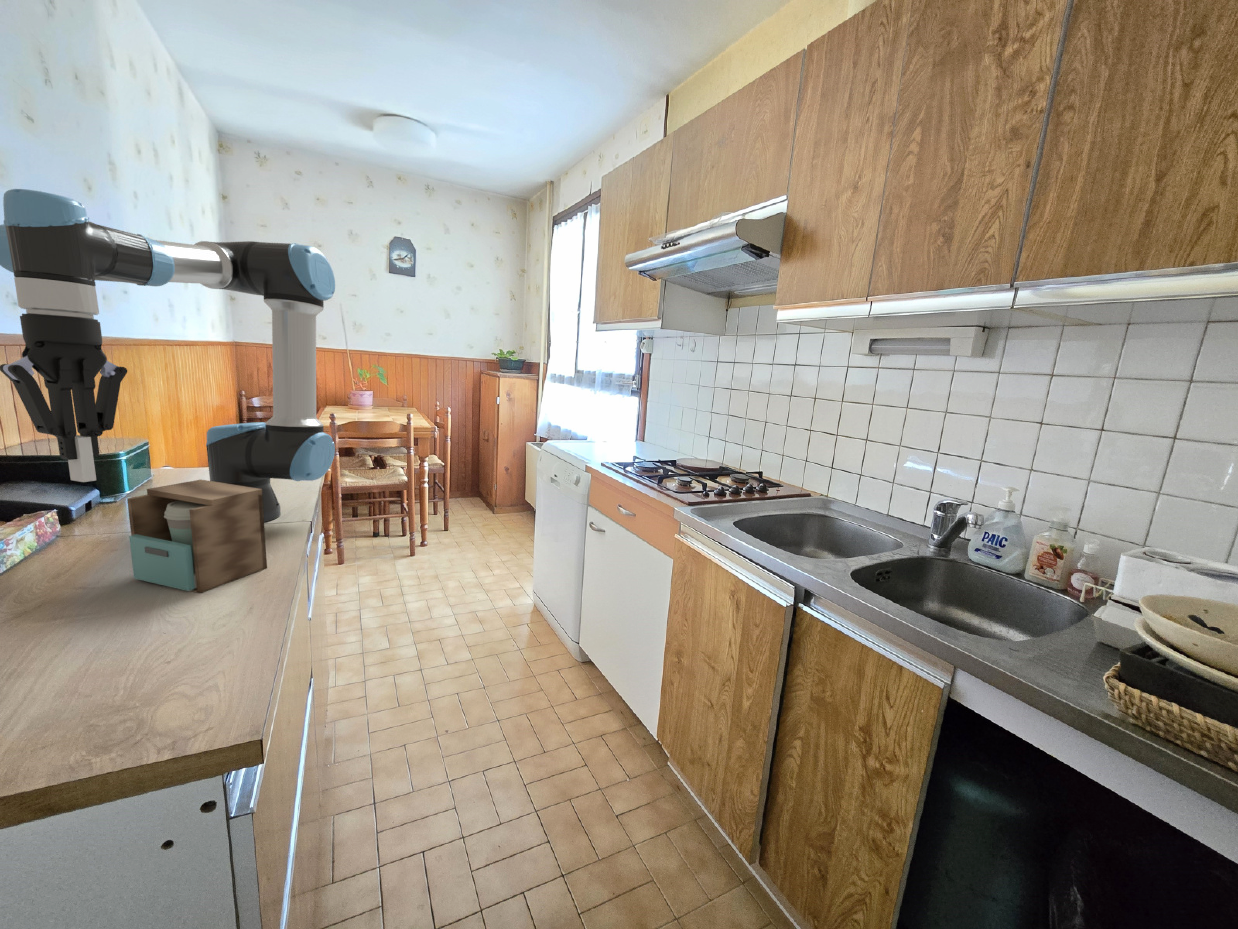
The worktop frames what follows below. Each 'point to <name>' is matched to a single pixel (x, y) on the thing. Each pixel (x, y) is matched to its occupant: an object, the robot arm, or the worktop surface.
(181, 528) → the coffee cup
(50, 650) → the worktop surface
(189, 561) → the teal drawer
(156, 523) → the cubby
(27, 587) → the worktop surface
